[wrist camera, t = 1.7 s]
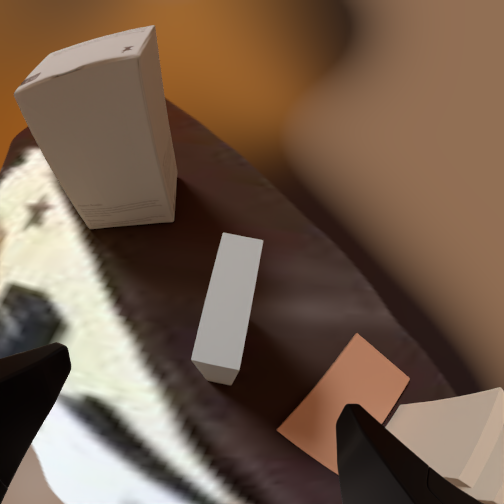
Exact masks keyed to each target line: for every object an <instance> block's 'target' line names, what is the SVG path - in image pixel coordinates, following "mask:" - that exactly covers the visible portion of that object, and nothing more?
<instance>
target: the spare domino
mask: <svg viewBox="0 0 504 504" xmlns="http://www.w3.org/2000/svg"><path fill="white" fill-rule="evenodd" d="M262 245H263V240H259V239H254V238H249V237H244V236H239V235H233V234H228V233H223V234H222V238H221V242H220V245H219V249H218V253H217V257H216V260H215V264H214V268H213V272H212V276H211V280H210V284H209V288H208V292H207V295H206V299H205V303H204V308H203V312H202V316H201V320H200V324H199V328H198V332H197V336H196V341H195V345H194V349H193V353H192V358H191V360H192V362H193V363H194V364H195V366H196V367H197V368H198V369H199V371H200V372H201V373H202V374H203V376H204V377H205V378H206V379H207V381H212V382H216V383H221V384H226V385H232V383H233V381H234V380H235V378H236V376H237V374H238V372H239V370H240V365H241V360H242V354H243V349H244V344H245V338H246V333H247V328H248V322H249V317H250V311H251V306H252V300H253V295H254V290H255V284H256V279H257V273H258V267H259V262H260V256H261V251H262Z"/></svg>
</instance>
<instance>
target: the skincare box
mask: <svg viewBox="0 0 504 504" xmlns="http://www.w3.org/2000/svg"><path fill="white" fill-rule="evenodd" d="M14 96H15V99H16V101H17V103H18V105H19V107H20V110H21V112H22V114H23V116H24V118H25V120H26V122H27V124H28V126H29V128H30V130H31V132H32V134H33V136H34V138H35V140H36V142H37V144H38V145H39V147H40V149H41V151H42V153H43V155H44V157H45V159H46V160H47V162H48V164H49V166H50V167H51V169H52V171H53V172H54V174H55V176H56V178H57V179H58V181H59V183H60V184H61V186H62V188H63V189H64V191H65V192H66V194H67V196H68V197H69V199H70V200H71V202H72V203H73V205H74V206H75V208H76V210H77V211H78V213H79V214H80V216H81V217H82V219H83V220H84V221H85V223H86V224H87V226H88V227H89V229H99V228H108V227H119V226H130V225H142V224H152V223H165V222H173V221H174V216H175V200H176V184H177V167H176V162H175V156H174V150H173V145H172V139H171V134H170V128H169V122H168V116H167V110H166V103H165V97H164V90H163V83H162V77H161V68H160V61H159V53H158V45H157V37H156V30H155V26H154V25H153V26H148V27H142V28H137V29H132V30H127V31H123V32H119V33H115V34H111V35H108V36H104V37H100V38H96V39H93V40H89V41H86V42H83V43H79V44H76V45H73V46H70V47H67V48H64V49H62V50H59V51H56V52H53V53H50V54H49V55H48V56H47V57H46V58H45V59H44V60H43V61H42V62H41V63H40V64H39V65H38V66H37V67H36V68H35V69H34V70H33V71H32V72H31V74H30V75H29V76H28V77H27V78H26V79H25V80H24V81H23V82H22V84H21V85H20V86H19V87H18V88H17V90H16V91H15V93H14Z"/></svg>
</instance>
